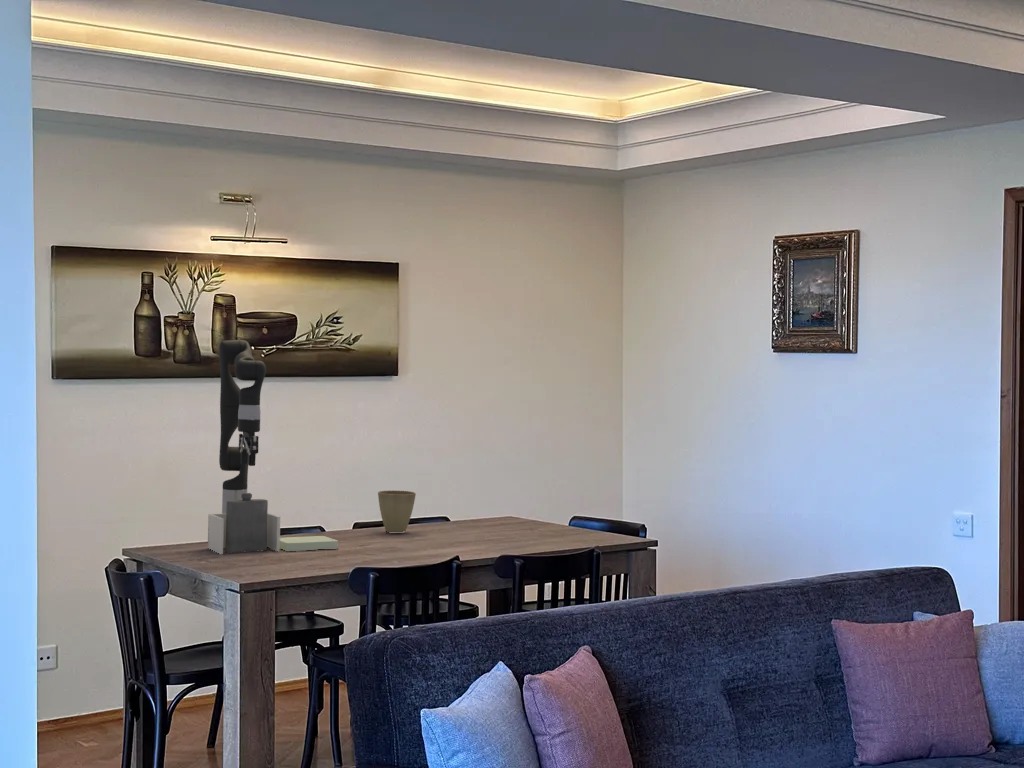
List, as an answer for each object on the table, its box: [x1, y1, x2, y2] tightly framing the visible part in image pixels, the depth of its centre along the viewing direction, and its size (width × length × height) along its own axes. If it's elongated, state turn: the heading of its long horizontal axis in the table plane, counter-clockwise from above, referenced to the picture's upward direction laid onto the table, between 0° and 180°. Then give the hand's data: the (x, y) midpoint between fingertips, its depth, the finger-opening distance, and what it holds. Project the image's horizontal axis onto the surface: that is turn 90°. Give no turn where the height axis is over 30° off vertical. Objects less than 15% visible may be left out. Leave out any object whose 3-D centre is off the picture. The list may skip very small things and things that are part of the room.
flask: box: [224, 492, 269, 554], centre depth 426 cm, size 15×6×20 cm, turn 129°
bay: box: [207, 512, 281, 555], centre depth 428 cm, size 14×21×12 cm
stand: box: [280, 535, 339, 552], centre depth 437 cm, size 14×19×3 cm
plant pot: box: [377, 490, 417, 533], centre depth 485 cm, size 15×15×16 cm
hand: (247, 464), depth 426 cm, fingers open, 8 cm apart
